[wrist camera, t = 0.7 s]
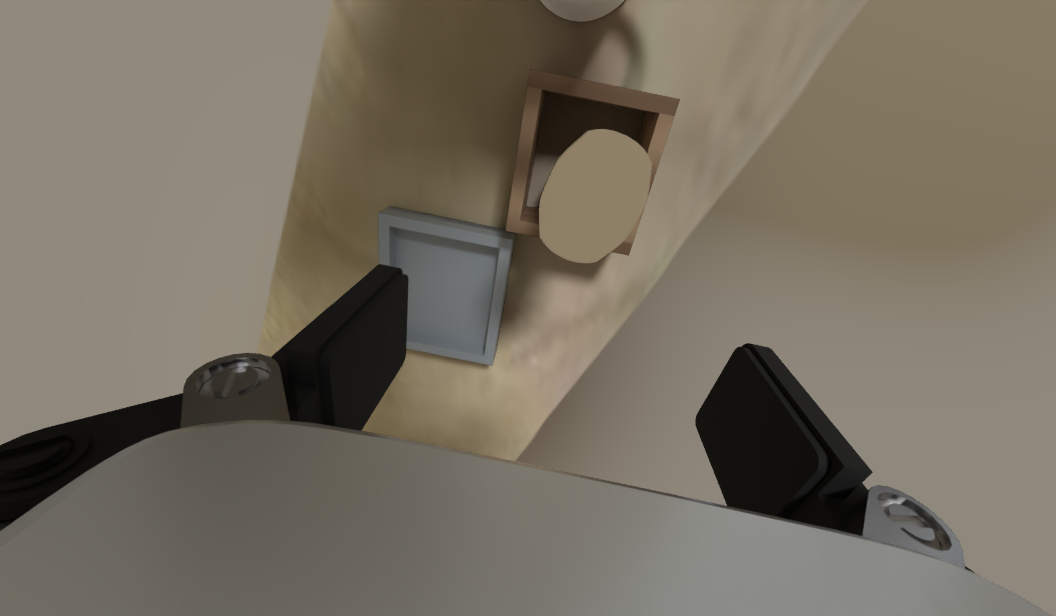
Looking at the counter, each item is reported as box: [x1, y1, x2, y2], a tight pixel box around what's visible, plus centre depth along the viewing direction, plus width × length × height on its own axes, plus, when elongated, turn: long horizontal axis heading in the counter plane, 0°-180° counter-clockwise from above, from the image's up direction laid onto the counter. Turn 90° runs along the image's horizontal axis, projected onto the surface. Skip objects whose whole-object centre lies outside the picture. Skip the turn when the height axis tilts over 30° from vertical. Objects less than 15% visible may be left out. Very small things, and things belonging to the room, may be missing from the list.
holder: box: [506, 69, 680, 255], centre depth 29 cm, size 11×10×5 cm
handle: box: [539, 129, 652, 263], centre depth 25 cm, size 5×6×15 cm
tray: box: [378, 206, 516, 366], centre depth 37 cm, size 14×12×2 cm
